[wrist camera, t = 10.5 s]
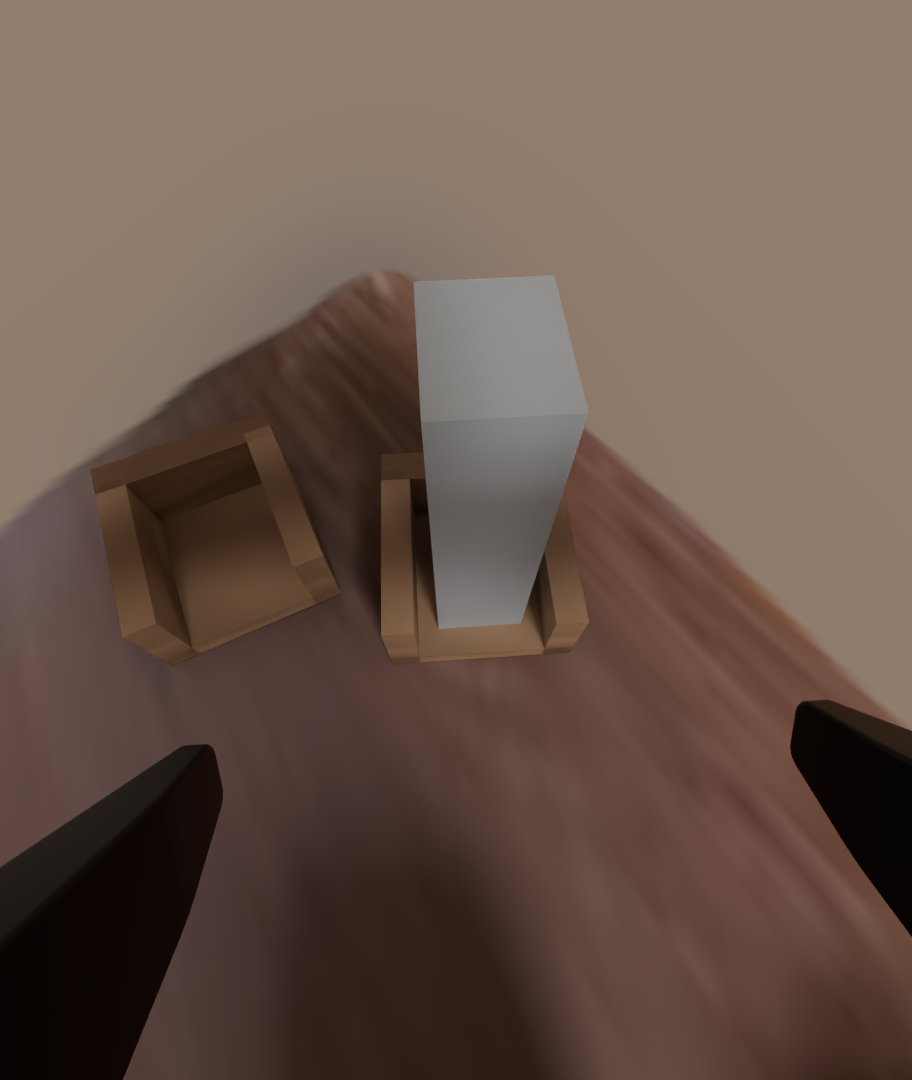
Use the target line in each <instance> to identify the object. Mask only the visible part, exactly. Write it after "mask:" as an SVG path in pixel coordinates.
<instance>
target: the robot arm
mask: <svg viewBox="0 0 912 1080" xmlns="http://www.w3.org/2000/svg"><path fill="white" fill-rule="evenodd" d="M790 749H791V755H792V758H793V761H794V763H795V765H796V766H797V768H798V770H799V771H800V773H801V774H802V776H803V778H804V779H805V781H806V782H807V784H808V786H809V787H810V789H811V791H812V792H813V794H814V795H815V797H816V799H817V800H818V802H819V803H820V805H821V807H822V808H823V810H824V812H825V813H826V815H827V816H828V818H829V820H830V821H831V823H832V824H833V826H834V828H835V829H836V831H837V833H838V834H839V836H840V837H841V839H842V841H843V842H844V844H845V845H846V847H847V848H848V850H849V851H850V853H851V854H852V856H853V857H854V859H855V860H856V862H857V863H858V865H859V866H860V867H861V869H862V870H863V872H864V873H865V875H866V876H867V877H868V879H869V880H870V881H871V883H872V884H873V885H874V887H875V888H876V889H877V891H878V892H879V893H880V895H881V896H882V898H883V899H884V900H885V902H886V903H887V904H888V906H889V907H890V908H891V910H892V911H893V912H894V914H895V915H896V916H897V918H898V919H899V920H900V922H901V923H902V924H903V926H904V927H905V929H906V930H907V931H908V933H909V934H910V935H911V937H912V731H910V730H908V729H905V728H902V727H900V726H897V725H895V724H892V723H889V722H887V721H884V720H881V719H879V718H876V717H873V716H871V715H868V714H865V713H863V712H860V711H857V710H855V709H852V708H849V707H847V706H844V705H841V704H839V703H836V702H833V701H830V700H814V701H803V702H801V703H800V704H799V705H798V706H797V708H796V712H795V719H794V725H793V731H792V738H791V744H790ZM222 800H223V788H222V783H221V779H220V774H219V769H218V764H217V760H216V755H215V752H214V749H213V748H212V746H210V745H208V744H202V745H188V746H182V747H180V748H178V749H177V750H175V751H174V752H172V753H171V754H169V755H168V756H166V757H165V758H163V759H162V760H160V761H159V762H157V763H156V764H154V765H153V766H151V767H150V768H148V769H147V770H145V771H144V772H142V773H141V774H139V775H138V776H136V777H135V778H133V779H132V780H130V781H129V782H127V783H126V784H124V785H123V786H121V787H120V788H118V789H117V790H115V791H114V792H112V793H111V794H109V795H108V796H106V797H105V798H103V799H102V800H100V801H99V802H97V803H96V804H94V805H93V806H91V807H90V808H88V809H87V810H85V811H84V812H82V813H81V814H79V815H78V816H76V817H75V818H73V819H72V820H70V821H69V822H67V823H66V824H64V825H63V826H61V827H60V828H58V829H57V830H55V831H54V832H52V833H51V834H49V835H48V836H46V837H45V838H43V839H42V840H40V841H39V842H37V843H36V844H34V845H33V846H31V847H30V848H28V849H27V850H25V851H24V852H22V853H21V854H19V855H18V856H16V857H15V858H13V859H12V860H10V861H9V862H7V863H6V864H4V865H3V866H1V867H0V1080H123V1078H124V1076H125V1073H126V1071H127V1068H128V1066H129V1063H130V1061H131V1058H132V1056H133V1053H134V1051H135V1048H136V1046H137V1043H138V1041H139V1038H140V1036H141V1033H142V1031H143V1028H144V1026H145V1023H146V1021H147V1018H148V1016H149V1014H150V1011H151V1009H152V1006H153V1004H154V1001H155V999H156V996H157V994H158V991H159V989H160V986H161V984H162V981H163V979H164V976H165V974H166V971H167V969H168V966H169V964H170V961H171V959H172V956H173V954H174V952H175V949H176V947H177V944H178V942H179V939H180V937H181V934H182V932H183V929H184V926H185V924H186V921H187V918H188V916H189V913H190V910H191V907H192V904H193V901H194V897H195V894H196V891H197V888H198V884H199V881H200V877H201V874H202V871H203V867H204V864H205V860H206V857H207V854H208V850H209V847H210V843H211V840H212V837H213V833H214V830H215V826H216V823H217V820H218V816H219V813H220V810H221V806H222Z"/></svg>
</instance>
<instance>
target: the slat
mask: <svg viewBox="0 0 912 1080" xmlns="http://www.w3.org/2000/svg"><path fill="white" fill-rule="evenodd" d="M414 299H415V318H416V337H417V357H418V376H419V395H420V414H421V429H422V440H423V452H424V464H425V475H426V487H427V499H428V510H429V522H430V534H431V545H432V557H433V569H434V580H435V592H436V604H437V615H438V627H439V629H445V628H460V627H474V626H489V625H503V624H518V623H521V621H522V618H523V615H524V612H525V609H526V606H527V603H528V600H529V596H530V593H531V590H532V587H533V584H534V581H535V578H536V575H537V572H538V569H539V565H540V562H541V559H542V556H543V553H544V550H545V547H546V544H547V541H548V538H549V534H550V531H551V528H552V525H553V522H554V519H555V516H556V513H557V510H558V507H559V503H560V500H561V497H562V494H563V491H564V488H565V485H566V482H567V479H568V476H569V472H570V469H571V466H572V463H573V460H574V457H575V454H576V451H577V448H578V445H579V441H580V438H581V435H582V432H583V429H584V426H585V423H586V420H587V417H588V414H589V413H588V409H587V405H586V401H585V397H584V393H583V389H582V385H581V381H580V377H579V373H578V369H577V365H576V361H575V357H574V353H573V349H572V345H571V341H570V337H569V333H568V329H567V325H566V321H565V317H564V313H563V309H562V305H561V301H560V297H559V293H558V289H557V285H556V281H555V277H554V275H553V276H552V275H551V276H529V277H509V278H485V279H464V280H442V281H420V282H414Z"/></svg>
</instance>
